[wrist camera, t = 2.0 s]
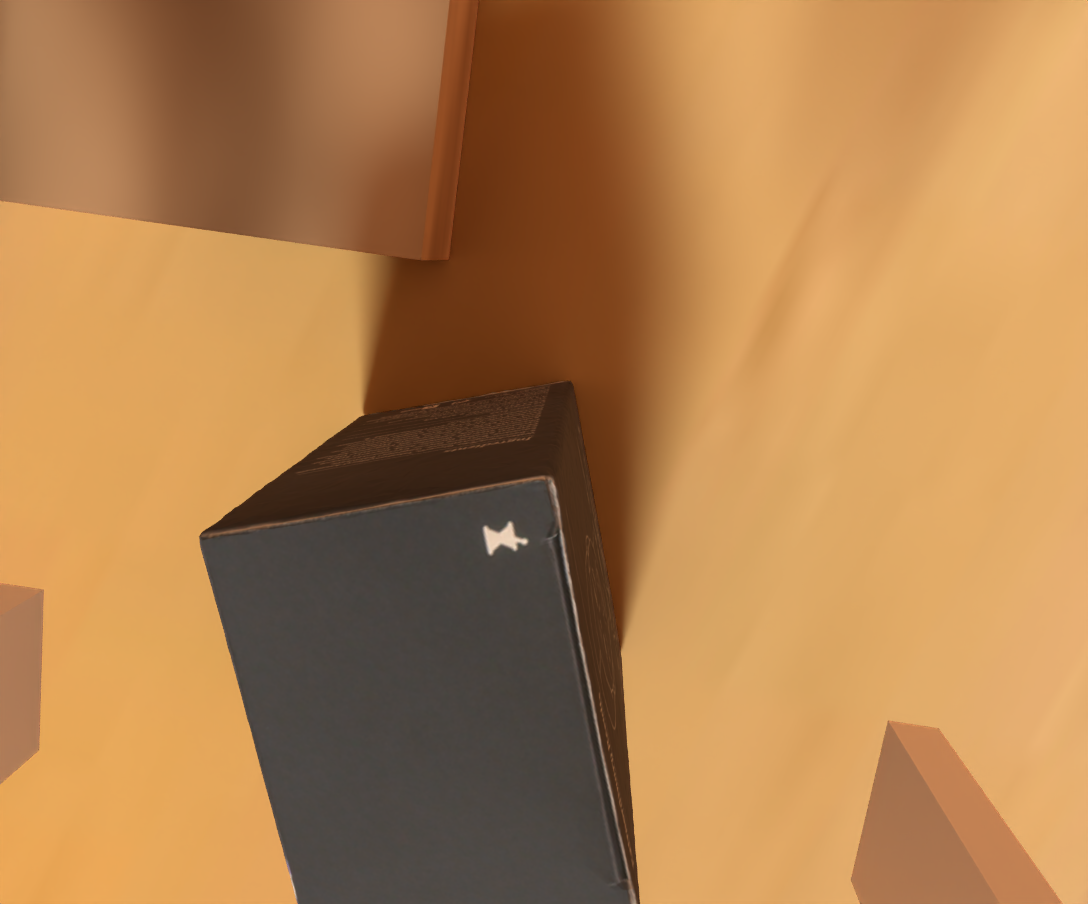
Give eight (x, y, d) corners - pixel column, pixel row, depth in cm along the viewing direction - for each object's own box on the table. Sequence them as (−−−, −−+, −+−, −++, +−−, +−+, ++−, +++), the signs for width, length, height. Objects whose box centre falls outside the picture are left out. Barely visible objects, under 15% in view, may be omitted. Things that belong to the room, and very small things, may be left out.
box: (356, 414, 24) (186, 529, 14) (574, 375, 24) (564, 465, 14) (418, 696, 26) (306, 988, 16) (625, 665, 25) (650, 944, 15)
